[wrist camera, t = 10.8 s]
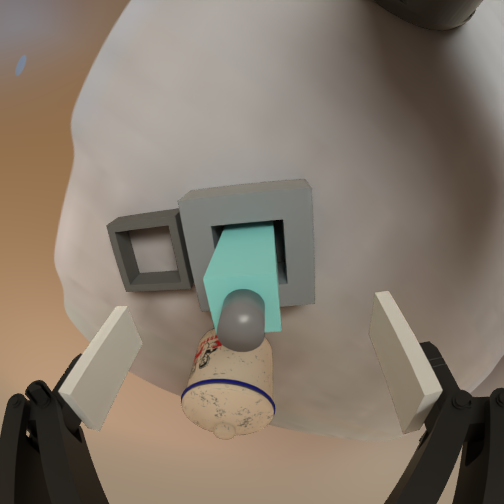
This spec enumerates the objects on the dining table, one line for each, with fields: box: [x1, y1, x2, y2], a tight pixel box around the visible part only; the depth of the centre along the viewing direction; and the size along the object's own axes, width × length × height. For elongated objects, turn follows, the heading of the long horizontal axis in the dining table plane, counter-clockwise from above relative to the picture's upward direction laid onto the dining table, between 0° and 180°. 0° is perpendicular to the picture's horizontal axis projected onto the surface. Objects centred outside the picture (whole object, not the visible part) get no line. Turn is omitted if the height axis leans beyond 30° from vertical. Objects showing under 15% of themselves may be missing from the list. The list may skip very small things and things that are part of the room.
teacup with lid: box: [181, 328, 275, 439], centre depth 27 cm, size 12×9×12 cm
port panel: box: [178, 179, 315, 311], centre depth 24 cm, size 10×10×4 cm
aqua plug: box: [203, 220, 281, 352], centre depth 20 cm, size 4×4×14 cm
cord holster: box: [106, 209, 194, 292], centre depth 26 cm, size 7×7×2 cm
